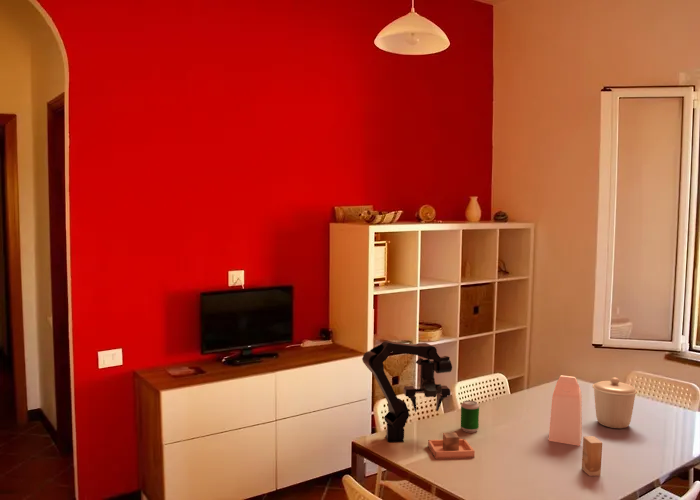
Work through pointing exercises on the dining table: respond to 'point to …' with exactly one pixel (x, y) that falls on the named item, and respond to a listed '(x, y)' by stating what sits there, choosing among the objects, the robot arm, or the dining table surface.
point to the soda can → (470, 416)
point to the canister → (614, 403)
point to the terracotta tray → (439, 452)
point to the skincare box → (592, 456)
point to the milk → (566, 412)
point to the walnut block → (450, 442)
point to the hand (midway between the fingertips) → (426, 411)
